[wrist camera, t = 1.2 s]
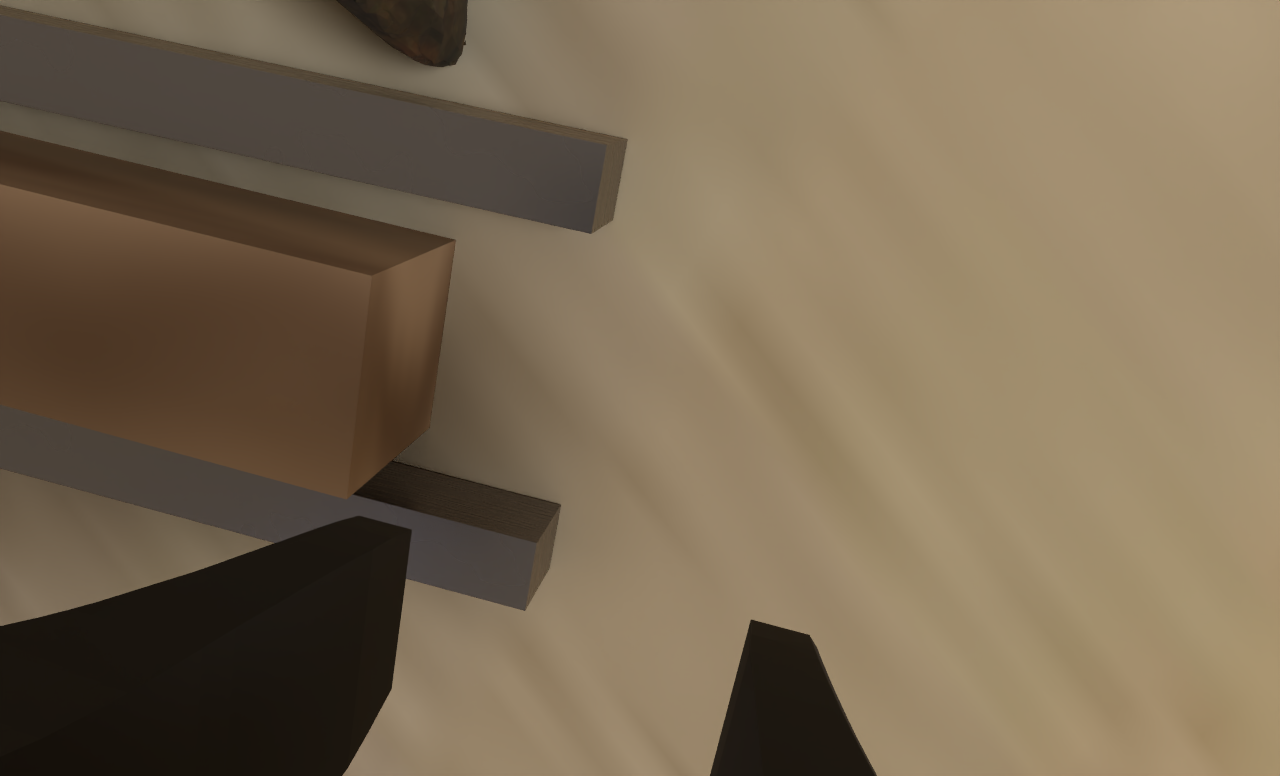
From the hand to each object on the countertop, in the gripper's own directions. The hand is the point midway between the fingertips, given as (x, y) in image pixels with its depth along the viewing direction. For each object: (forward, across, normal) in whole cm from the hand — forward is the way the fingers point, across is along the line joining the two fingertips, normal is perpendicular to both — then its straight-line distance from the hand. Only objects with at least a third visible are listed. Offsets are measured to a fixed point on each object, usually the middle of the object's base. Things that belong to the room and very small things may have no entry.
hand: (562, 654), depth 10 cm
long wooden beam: (+10, +11, 0) cm, 15 cm away
